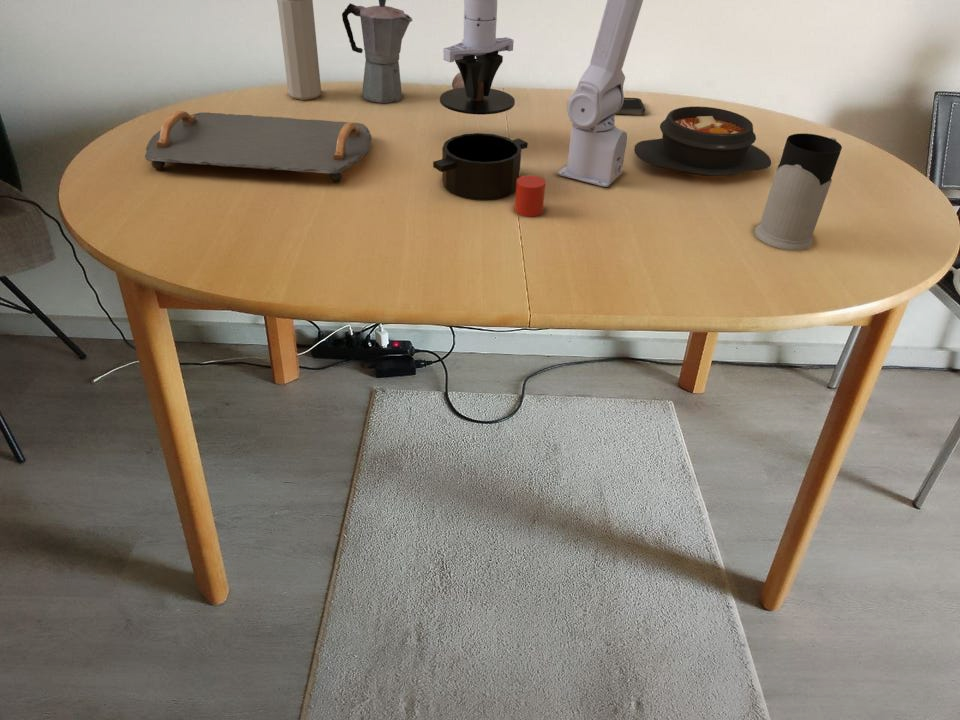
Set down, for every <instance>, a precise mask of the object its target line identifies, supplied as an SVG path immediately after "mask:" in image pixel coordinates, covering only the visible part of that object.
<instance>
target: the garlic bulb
mask: <svg viewBox="0 0 960 720" xmlns="http://www.w3.org/2000/svg"><path fill="white" fill-rule="evenodd" d="M451 87H452V89H457V88H464V87H465V86H464V82H463V78H462V75H461V73H460V72H458V73H457V74H456V75H455V76H454V77H453V78H452V82H451Z"/></svg>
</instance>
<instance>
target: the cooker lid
mask: <svg viewBox="0 0 960 720" xmlns="http://www.w3.org/2000/svg"><path fill="white" fill-rule="evenodd" d="M439 103H440V105H441V106H442V107H444V108H445V109H447V110H449V111H453V112H457V113H461V114H467V115H477V116H478V115H481V116H482V115H483V116H484V115H495V114H501V113H504V112H507V111H509V110H511V109H513V108H514V107H515V104H516V100H515V97H513V95H511V94H510V93H508V92H506V91H503V90H500V89H495V88H492V87H491V88H490V92H489V95H488V96H484V80H482V79H478V87H477V96H476V99H471V98H469V97H467V96H466V91H465V87H464V88H457V89H453V88H452V89H449V90H446V91H444V92H442V93H441V95H440V96H439Z"/></svg>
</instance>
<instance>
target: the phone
mask: <svg viewBox="0 0 960 720" xmlns="http://www.w3.org/2000/svg"><path fill="white" fill-rule="evenodd" d="M645 111H646V107H645V105H644V103H643V100H642V99H641V98H638V97H624V101H623V105H622V107H621V109H620V110H619V111H618V112H617V113H615V115H632V116H644V115H645Z"/></svg>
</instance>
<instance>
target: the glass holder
mask: <svg viewBox="0 0 960 720" xmlns="http://www.w3.org/2000/svg"><path fill="white" fill-rule="evenodd" d="M842 149H843V146H842V144H840V143H839V142H838V141H837V139H836V138H835V137H827V136H824V135H819V134H814V133H804V132H803V133H802V132H801V133H794V134H791V135H788V136H787V138H786V140H785V144H784V148H783V151H782V154H781V156H780V160H779V164H778V165H777V166H776V170H775V173H774V176H773V179H772V183H771V185H770V190H769V193H768V196H767V200H766V203H765V206H764V210H763V212H762V215H761V218H760V222H759V224H758V225H757V226H756V227H755V229H754V235H755V236H756V238H757V239H758V240H760V241H761V242H763V243H765V245H768V246H771V247H774V248H777V249H781V250H787V251H802V250H803V251H804V250H807V249H809V248H810V247H812V246H813V245H814V232H815V229H816V226H817V223H818V220H819V218H820V215H821V212H822V210H823V206H824V204H825V201H826V199H827V195H828V193H829V189H830V186H831V184H832V181H833V179H832V177H833V174H834V172H835V169H836V167H837V163H838V160H839V158H840V155H841V151H842Z"/></svg>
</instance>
